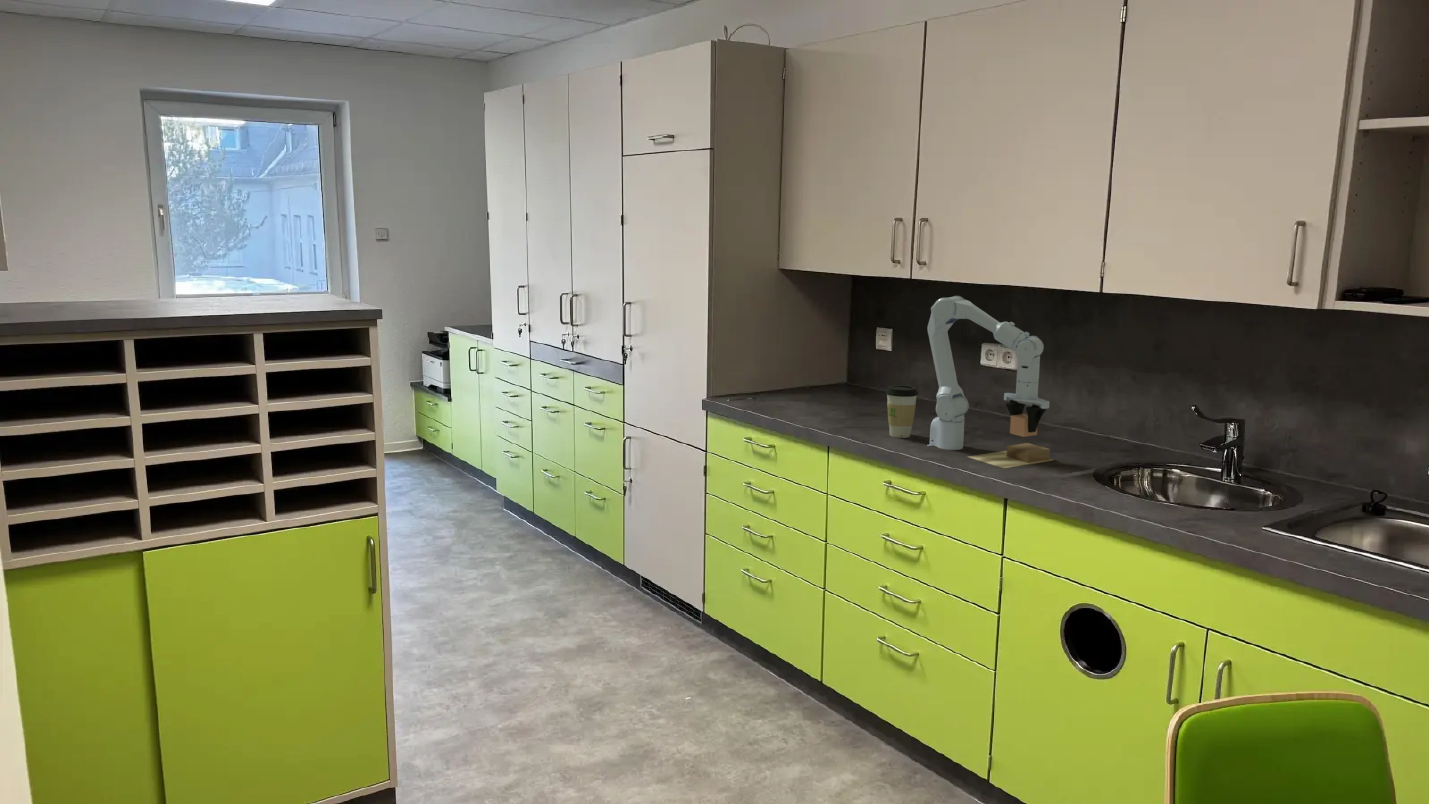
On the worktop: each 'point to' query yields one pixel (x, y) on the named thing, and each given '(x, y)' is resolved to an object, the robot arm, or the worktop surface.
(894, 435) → the coffee cup
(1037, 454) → the stacking base
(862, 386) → the worktop surface
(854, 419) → the worktop surface
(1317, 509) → the worktop surface
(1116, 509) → the worktop surface
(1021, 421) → the cube
